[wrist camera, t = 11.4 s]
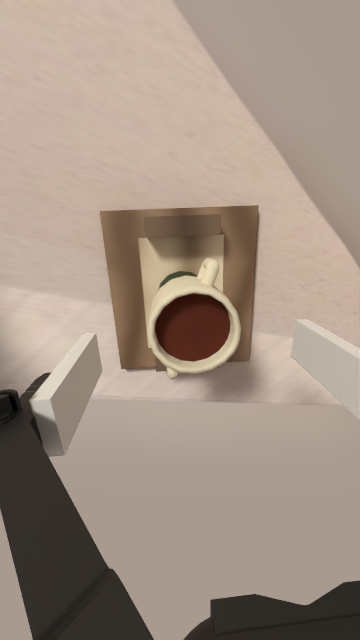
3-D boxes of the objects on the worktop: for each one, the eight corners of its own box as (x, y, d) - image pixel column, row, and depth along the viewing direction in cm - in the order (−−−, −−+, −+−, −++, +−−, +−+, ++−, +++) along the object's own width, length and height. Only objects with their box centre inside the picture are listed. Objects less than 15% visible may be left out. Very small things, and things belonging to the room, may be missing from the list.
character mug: (193, 341, 32) (212, 403, 20) (142, 325, 31) (128, 382, 19) (224, 262, 29) (269, 279, 17) (169, 242, 28) (173, 244, 16)
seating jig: (122, 365, 34) (117, 381, 30) (101, 212, 28) (92, 207, 24) (246, 357, 35) (256, 371, 31) (255, 206, 28) (269, 201, 25)
